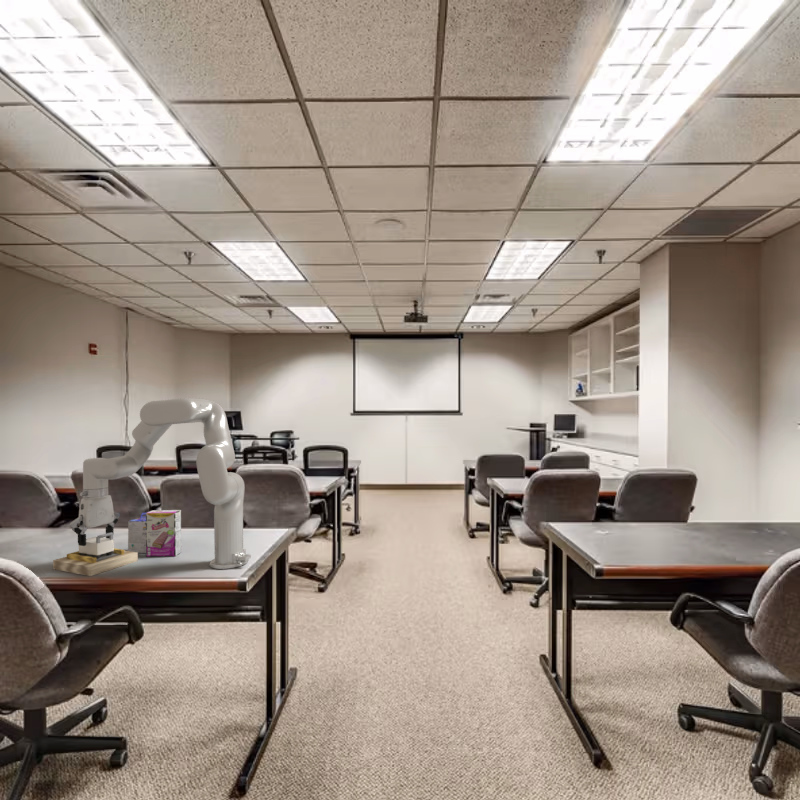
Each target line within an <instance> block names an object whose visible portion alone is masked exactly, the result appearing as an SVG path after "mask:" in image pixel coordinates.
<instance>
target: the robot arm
mask: <svg viewBox="0 0 800 800" xmlns="http://www.w3.org/2000/svg"><path fill="white" fill-rule="evenodd" d="M139 418H140V420H141V421H140V422H139V423H137V425H136V426H135V427H134V428H133V429H132V431H131V436H132V438H133V439H134V440H135V441H134V444H133V445H132V446H131V448H130V449H129V450H128V451H127V452H126V453H125V454H124V455H122V456H121V455H120V456H116V457H110V458H105V457H92V458H91V457H90V458H86V459H85V460H83V463H82V492H79V496H80V497H82V498H81V500H80V504H79V510H78V517H77V518H75V519H74V520H72V521H71V522H70V523H69V526H70V528H71V529H72V531H73V532H74V533H75V534H76V535H77V545H78V546H79V545H80V546H86V539H87V534H86V532H87V530H88V528H89V529H91V528H95V527H96V528H97V527H100V526H101V527H102V526H104V525H106V527H105V534H107V533H111V532H112V533H113V535H114V534H115V533H114V532H115V531H114V528H115V527H116V524H117V523H118V521H119V518H120V516H121V513H120V512H117V511H115V510H114V503H113V499H112V495H111V494H109V480H117V479H121V478H125V477H129V476H132V475H134V474H136V473H137V472H138V471H139V470H140V469H141V468H142V467H143V466H144V464H145V463H146V462H147V461H148V460H149V458H150V457H151V455H152V453H153V450H154V446H155V445H156V443H157V442H158V441H159V440H160V439H161V438H162V436H163V435H164V434H165V433H166V432H167V431H168V429H170V427H171V426H172V425H180V424H190V423H191V424H193V423H202V424H203V436H204V438H203V439H204V442H205V445H204V446H202V448H200V449H199V450H198V453H197V455H196V459H195V460H196V461H195V462H196V463H195V464H196V469H197V473H198V478H199V483H200V487H201V492H202V495H203V497H204V499H205V500H206V502H208V503H209V504H211V505H214V509H213V513H214V514H213V520H214V521H213V525H214V526H213V527H214V528H213V529H214V530H213V532H214V533H213V534H214V542H213V543H214V544H213V545H214V558H213V559H211V560H210V562H209V566H210V568H212V569H216V570H225V569H227V570H228V569H234V568H238V567H242V566H243V565H246V564H247V563H248V562H249V560H250V559H251V558H252V555H251V554H249V553H246V550H247V549H244V499H245V489H246V488H245V481H244V479H243V478H242V476H241V475H240V474H238V473H236V472H231V471H230V472H228V469H229V468H230V467H232V466H233V464H234V463H235V460H236V455H235V450H234V445H233V440H232V435H231V432H230V428H229V424H228V418H227V414H226V412H225V410H224V408H223V407H222V406H221V405H220V404H219V403H217V402H216V401H214V400H210V399H207V398H200V397H199V398H197V397H191V398H190V397H181V398H172V399H164V400H163V399H162V400H151V401H147V402H146V403H145V404H144V405H143V406H142V407H141V409H140V411H139ZM77 525H78V526H79V527H78V526H77ZM105 538H109V539H110V536H107V537H105Z"/></svg>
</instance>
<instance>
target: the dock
mask: <svg viewBox="0 0 800 800" xmlns="http://www.w3.org/2000/svg"><path fill="white" fill-rule="evenodd" d="M138 554H139V553H137V552H131V551H128V550H125V549H123V548H122V549H121V548H115V547H114V553H113V554H111V555H107V554H106V553H104V554H101V555H100V558H98V559H97V558H94V557H92V554H87V555H86V556H82V555H79V550H77V551H74V552H70V553H67V554H66V556H63V557H59V558H57V559H53V560H52V569H53V570H55V569H56V570H57V571H60V572H61V571H63V572H67V573H72V574H77V575H83V576H88V577H92V576H95V575H99V574H101V573H105V572H107V571H111V570H114V569H118V568H121V567H123V566H126V565H129V564H133V563H136V562H138V561H139V556H138Z"/></svg>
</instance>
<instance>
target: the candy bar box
mask: <svg viewBox="0 0 800 800" xmlns="http://www.w3.org/2000/svg"><path fill="white" fill-rule="evenodd" d="M145 513H146V514H145V516H146V553H145V556H146V557H147V558H149V557H150V558H152V557H154V558H155V557H161V556H164V557H177V556H178V555H180V554H181V553H182V510H181V509H171V510H170V509H168V510H167V509H165V510H164V509H162V510H161V509H160V510H159V509H158V510H155V509H154V510H150V511H147V512H145ZM176 555H177V556H176Z"/></svg>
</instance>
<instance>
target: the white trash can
mask: <svg viewBox="0 0 800 800" xmlns="http://www.w3.org/2000/svg"><path fill="white" fill-rule="evenodd" d="M107 536H110V539H109V538H106V537H107ZM114 548H115V539H114V534H113V533H112V532H111V533H107V534H106V533H103V534H100V535H97V536H92V537H88V538H86V546H80V545H78V551H79V555H82V556H86V555H87V554H92V557H94V558H97V559H98V558H100V555H101V554H104V553H106V554H107V555H111V554H113V553H114Z"/></svg>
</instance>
